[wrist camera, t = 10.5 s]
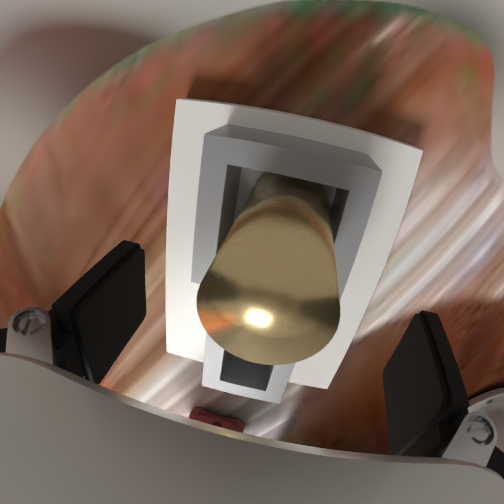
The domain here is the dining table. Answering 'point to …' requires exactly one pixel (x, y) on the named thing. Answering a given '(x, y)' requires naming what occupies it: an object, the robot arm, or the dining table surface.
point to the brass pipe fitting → (274, 276)
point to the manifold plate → (235, 196)
